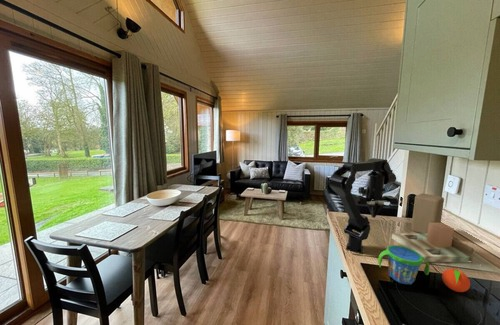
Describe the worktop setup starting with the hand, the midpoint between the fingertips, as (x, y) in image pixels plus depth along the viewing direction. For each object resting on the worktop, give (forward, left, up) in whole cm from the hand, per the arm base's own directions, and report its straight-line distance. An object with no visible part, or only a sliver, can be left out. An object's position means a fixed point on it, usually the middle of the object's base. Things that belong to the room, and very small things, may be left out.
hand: (373, 217), depth 101 cm
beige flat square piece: (+8, -22, -13) cm, 27 cm away
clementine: (-20, -26, -13) cm, 35 cm away
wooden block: (+30, -24, -13) cm, 41 cm away
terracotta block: (+11, -26, -10) cm, 31 cm away
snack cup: (-23, -11, -13) cm, 29 cm away
